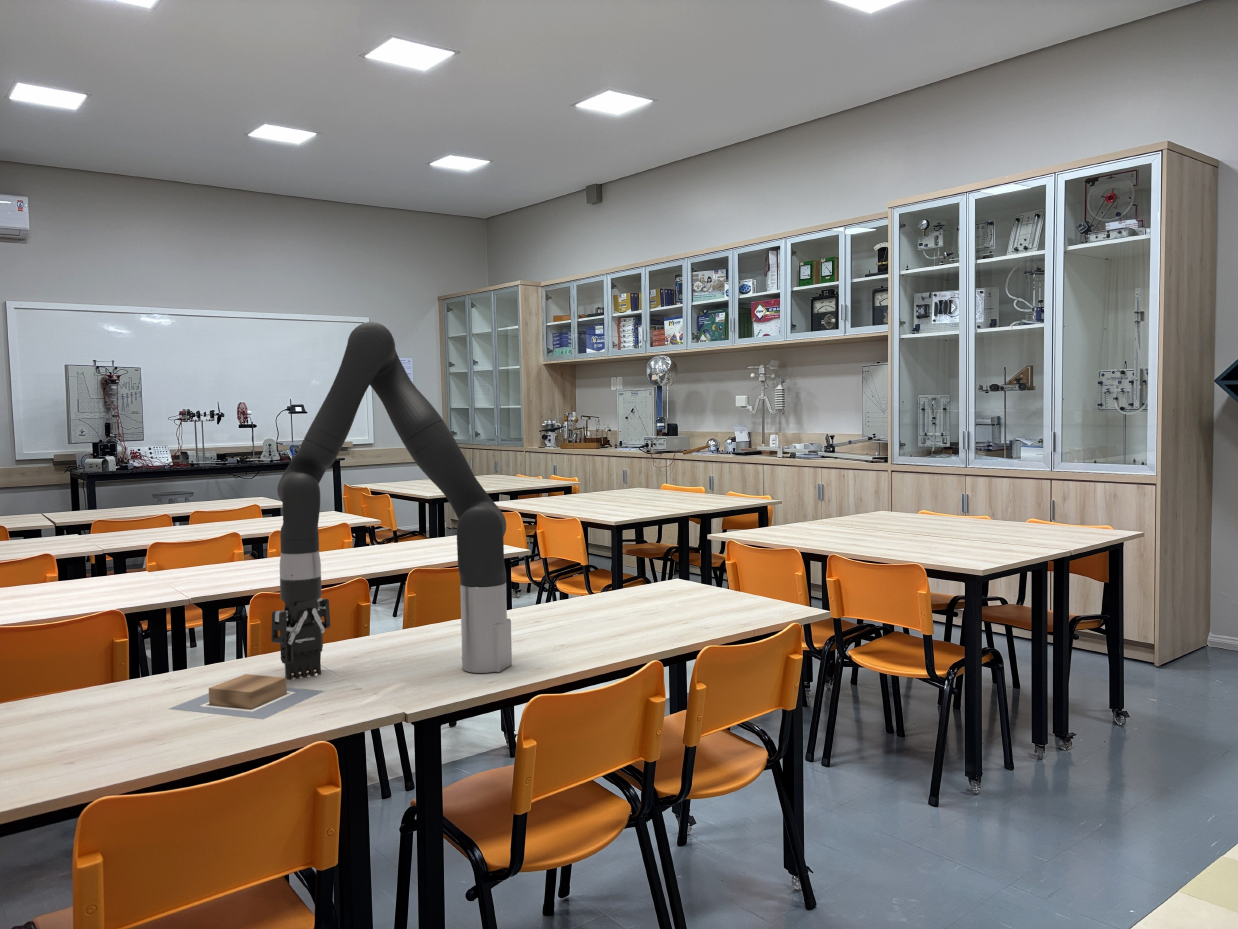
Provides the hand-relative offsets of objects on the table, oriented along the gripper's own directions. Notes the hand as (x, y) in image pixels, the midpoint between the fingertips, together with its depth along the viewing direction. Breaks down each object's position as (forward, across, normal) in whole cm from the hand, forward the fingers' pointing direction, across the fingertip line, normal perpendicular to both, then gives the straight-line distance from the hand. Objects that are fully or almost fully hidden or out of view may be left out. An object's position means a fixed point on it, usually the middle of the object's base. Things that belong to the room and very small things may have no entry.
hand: (302, 657), depth 169 cm
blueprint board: (+5, -15, 0) cm, 16 cm away
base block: (+4, -15, 0) cm, 16 cm away
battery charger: (+5, 0, 0) cm, 5 cm away
